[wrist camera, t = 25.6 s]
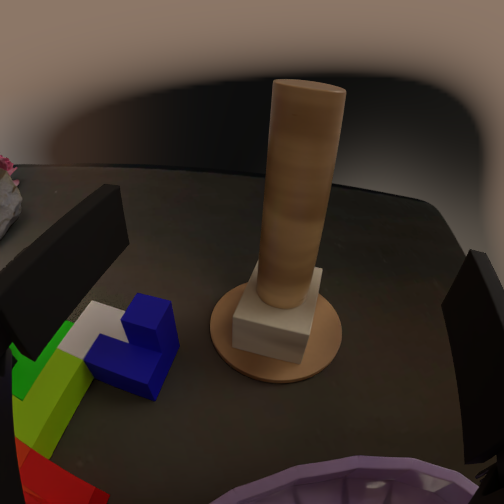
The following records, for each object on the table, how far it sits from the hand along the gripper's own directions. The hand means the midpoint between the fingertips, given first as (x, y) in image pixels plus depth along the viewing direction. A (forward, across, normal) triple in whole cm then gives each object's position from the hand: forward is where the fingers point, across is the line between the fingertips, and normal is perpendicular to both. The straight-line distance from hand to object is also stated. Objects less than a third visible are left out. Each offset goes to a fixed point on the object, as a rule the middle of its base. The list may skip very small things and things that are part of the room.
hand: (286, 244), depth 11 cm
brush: (+5, 0, -10) cm, 12 cm away
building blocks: (-6, -12, -11) cm, 17 cm away
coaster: (+5, 0, -10) cm, 12 cm away
